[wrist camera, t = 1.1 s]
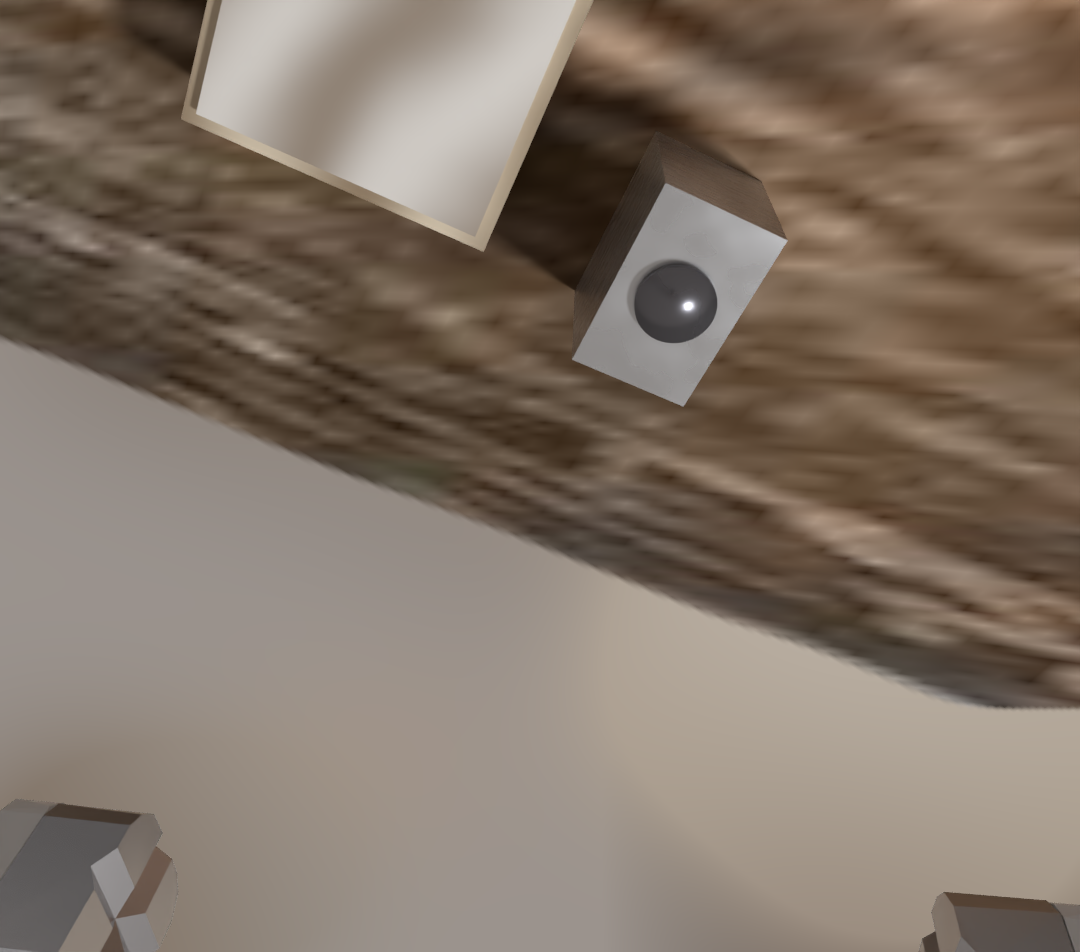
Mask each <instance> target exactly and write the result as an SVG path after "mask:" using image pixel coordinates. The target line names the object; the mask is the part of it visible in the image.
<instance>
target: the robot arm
mask: <svg viewBox="0 0 1080 952" xmlns="http://www.w3.org/2000/svg"><path fill="white" fill-rule="evenodd" d="M161 835H162V831H161V829H160V827H159V824H158V822H157V820H156V818H155V815H154V814H149V813H140V812H131V811H122V810H113V809H104V808H94V807H86V806H77V805H67V804H64V803H55V802H45V801H34V800H24V799H15V800H14V801H12V802H11V803H10V804H8V805H7V806H6V807H4V808H3V809H2V810H0V952H155V951H156V950H157V949H159V948H160V946H161V944H162V941H163V939H164V937H165V935H166V932H167V930H168V928H169V926H170V924H171V921H172V917H173V913H174V908H175V904H176V899H177V895H178V883H177V872H176V869H175V866H174V863H173V860H172V859H171V858H170V857H169V856H168V855H166V854H165V853H164V852H163V851H161V850H160V849H159V848H157V847H156V845H157V843H158V841H159V839H160V837H161ZM931 913H932V918H933V922H934V927H935V932H933V933H932V934H930V935H928V936H926V937H924V938H922V942H921V945H920V949H919V952H1080V905H1074V904H1061V903H1050V902H1047V901H1046V900H1034V899H1021V898H1010V897H998V896H986V895H973V894H961V893H949V892H943V893H942V894H940V895H939V896H938V897H937V899H936V901H935V904H934V906H933V909H932V912H931Z"/></svg>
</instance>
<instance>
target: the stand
mask: <svg viewBox="0 0 1080 952" xmlns="http://www.w3.org/2000/svg"><path fill="white" fill-rule="evenodd" d="M592 2H593V0H207V5H206V9H205V14H204V18H203V23H202V27H201V31H200V36H199V40H198V45H197V49H196V54H195V58H194V63H193V67H192V72H191V76H190V81H189V85H188V90H187V94H186V99H185V103H184V108H183V112H182V116H181V119H182V120H184V121H187V122H189V123H191V124H193V125H196V126H198V127H200V128H203V129H205V130H207V131H209V132H212V133H214V134H216V135H219V136H221V137H223V138H225V139H228V140H230V141H232V142H234V143H237V144H239V145H241V146H244V147H246V148H248V149H250V150H253V151H255V152H257V153H260V154H262V155H264V156H266V157H269V158H271V159H273V160H276V161H278V162H280V163H282V164H285V165H287V166H289V167H292V168H294V169H296V170H298V171H301V172H303V173H305V174H307V175H310V176H312V177H314V178H317V179H319V180H321V181H323V182H326V183H328V184H330V185H333V186H335V187H337V188H339V189H342V190H344V191H346V192H349V193H351V194H353V195H355V196H358V197H360V198H362V199H364V200H367V201H369V202H371V203H374V204H376V205H378V206H380V207H383V208H385V209H387V210H390V211H392V212H394V213H396V214H399V215H401V216H403V217H406V218H408V219H410V220H412V221H415V222H417V223H419V224H421V225H424V226H426V227H428V228H431V229H433V230H435V231H437V232H440V233H442V234H444V235H447V236H449V237H451V238H453V239H456V240H458V241H460V242H463V243H465V244H467V245H469V246H472V247H474V248H476V249H479V250H481V251H483V252H484V250H485V247H486V245H487V243H488V240H489V238H490V236H491V234H492V231H493V229H494V227H495V224H496V222H497V220H498V217H499V215H500V213H501V211H502V208H503V206H504V204H505V201H506V199H507V197H508V195H509V192H510V190H511V188H512V185H513V183H514V181H515V179H516V176H517V174H518V172H519V169H520V167H521V165H522V163H523V160H524V158H525V156H526V153H527V151H528V149H529V147H530V144H531V142H532V140H533V137H534V135H535V133H536V131H537V128H538V126H539V124H540V121H541V119H542V117H543V115H544V112H545V110H546V108H547V105H548V103H549V101H550V99H551V96H552V94H553V92H554V89H555V87H556V85H557V82H558V80H559V78H560V76H561V73H562V71H563V69H564V66H565V64H566V62H567V60H568V57H569V55H570V53H571V50H572V48H573V46H574V44H575V41H576V39H577V37H578V34H579V32H580V30H581V28H582V25H583V23H584V21H585V18H586V16H587V14H588V12H589V9H590V7H591V5H592Z"/></svg>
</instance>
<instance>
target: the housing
mask: <svg viewBox="0 0 1080 952" xmlns="http://www.w3.org/2000/svg"><path fill="white" fill-rule="evenodd" d="M787 241H788V240H787V238H786V236H785V233H784V231H783V229H782V227H781V224H780V222H779V220H778V217H777V215H776V213H775V211H774V208H773V206H772V204H771V202H770V199H769V197H768V195H767V192H766V190H765V188H764V186H763V183H762V182H761V181H759V180H757V179H755V178H753V177H751V176H749V175H747V174H745V173H742V172H740V171H738V170H736V169H734V168H732V167H730V166H728V165H726V164H724V163H722V162H720V161H718V160H716V159H713V158H711V157H709V156H707V155H705V154H703V153H701V152H699V151H697V150H695V149H693V148H691V147H689V146H687V145H685V144H682V143H680V142H678V141H676V140H674V139H672V138H670V137H668V136H666V135H664V134H662V133H660V132H658V131H656V132H655V134H654V136H653V138H652V139H651V141H650V143H649V145H648V147H647V149H646V151H645V153H644V155H643V157H642V159H641V161H640V163H639V165H638V167H637V169H636V171H635V173H634V175H633V177H632V179H631V181H630V183H629V185H628V187H627V189H626V191H625V193H624V195H623V197H622V199H621V200H620V202H619V204H618V206H617V208H616V210H615V212H614V214H613V216H612V218H611V220H610V222H609V224H608V226H607V228H606V230H605V232H604V234H603V236H602V238H601V240H600V242H599V244H598V246H597V248H596V250H595V252H594V254H593V256H592V258H591V260H590V262H589V263H588V265H587V267H586V269H585V271H584V273H583V275H582V277H581V279H580V281H579V283H578V285H577V287H576V289H575V298H574V324H573V350H572V360H574V361H577V362H579V363H582V364H584V365H586V366H589V367H591V368H593V369H596V370H598V371H601V372H603V373H605V374H608V375H610V376H612V377H615V378H617V379H619V380H622V381H624V382H627V383H629V384H631V385H634V386H636V387H638V388H641V389H643V390H645V391H648V392H650V393H653V394H655V395H657V396H660V397H662V398H664V399H667V400H669V401H672V402H674V403H676V404H679V405H681V406H684V405H685V403H686V402H687V400H688V398H689V397H690V395H691V394H692V392H693V390H694V389H695V387H696V386H697V384H698V382H699V381H700V379H701V378H702V376H703V374H704V373H705V371H706V370H707V368H708V367H709V365H710V363H711V362H712V360H713V359H714V357H715V355H716V354H717V352H718V351H719V349H720V347H721V346H722V344H723V343H724V341H725V339H726V338H727V336H728V335H729V333H730V331H731V330H732V328H733V327H734V325H735V323H736V322H737V320H738V319H739V317H740V315H741V314H742V312H743V311H744V309H745V308H746V306H747V304H748V303H749V301H750V300H751V298H752V296H753V295H754V293H755V292H756V290H757V288H758V287H759V285H760V284H761V282H762V280H763V279H764V277H765V276H766V274H767V272H768V271H769V269H770V268H771V266H772V264H773V263H774V261H775V260H776V258H777V256H778V255H779V253H780V252H781V250H782V249H783V247H784V245H785V244H786V242H787Z"/></svg>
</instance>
